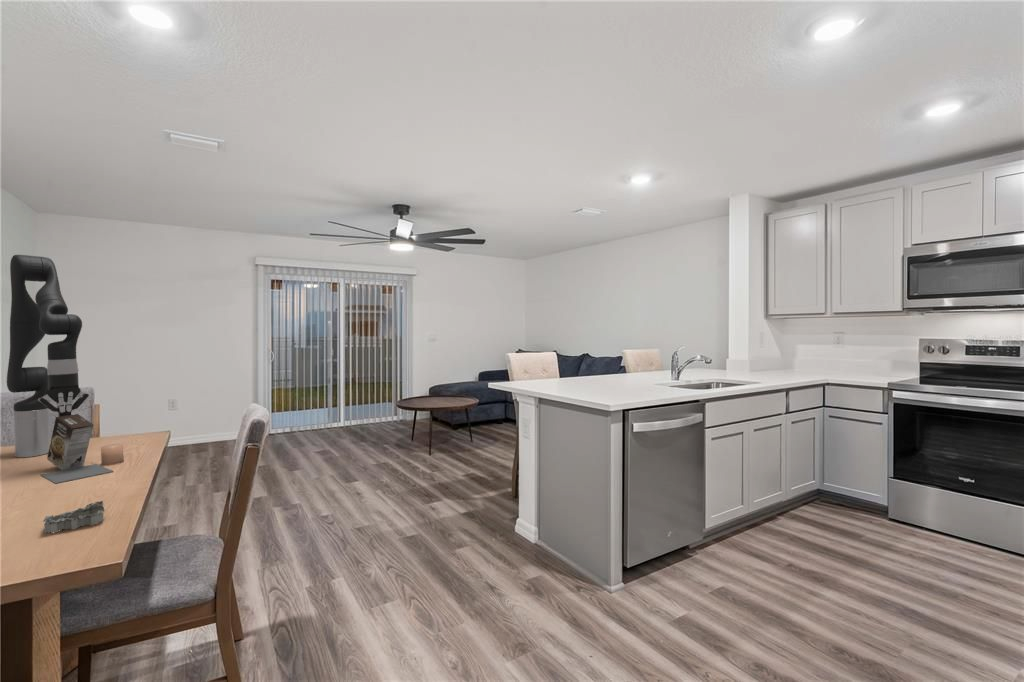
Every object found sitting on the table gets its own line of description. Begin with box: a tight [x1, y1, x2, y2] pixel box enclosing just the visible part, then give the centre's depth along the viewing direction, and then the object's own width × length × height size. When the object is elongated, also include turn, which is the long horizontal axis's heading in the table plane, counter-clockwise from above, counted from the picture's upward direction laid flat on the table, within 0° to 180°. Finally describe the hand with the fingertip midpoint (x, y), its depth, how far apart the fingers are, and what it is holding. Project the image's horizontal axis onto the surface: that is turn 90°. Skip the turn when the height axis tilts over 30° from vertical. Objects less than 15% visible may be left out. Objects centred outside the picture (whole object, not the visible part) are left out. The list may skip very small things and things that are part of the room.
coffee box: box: [46, 413, 94, 471], centre depth 157 cm, size 9×6×16 cm
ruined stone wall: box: [42, 500, 106, 534], centre depth 112 cm, size 11×8×4 cm
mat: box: [40, 463, 114, 485], centre depth 152 cm, size 16×14×1 cm
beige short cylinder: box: [100, 443, 125, 466], centre depth 164 cm, size 6×6×6 cm
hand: (65, 422), depth 159 cm, fingers closed
